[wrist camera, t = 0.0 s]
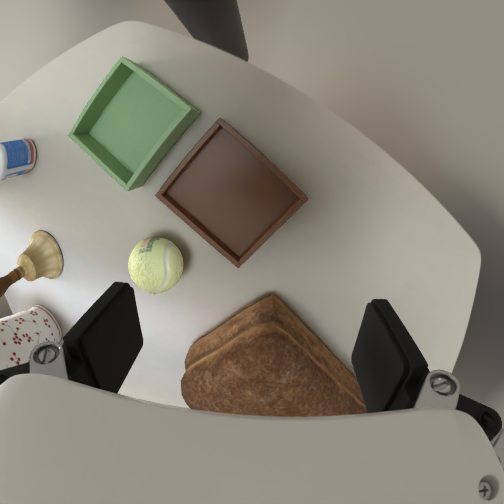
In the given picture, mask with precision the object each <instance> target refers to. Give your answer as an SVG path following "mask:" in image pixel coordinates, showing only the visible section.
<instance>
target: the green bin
mask: <svg viewBox="0 0 504 504" xmlns="http://www.w3.org/2000/svg"><path fill="white" fill-rule="evenodd" d="M199 114H200V112H199V111H198V110H197V109H195V108H194V107H193V106H192V105H190V104H189V103H188V102H187V101H185V100H184V99H183V98H182V97H180V96H179V95H178V94H177V93H175V92H174V91H173V90H171V89H170V88H169V87H167V86H166V85H165V84H164V83H162V82H161V81H160V80H158V79H157V78H156V77H154V76H153V75H152V74H150V73H149V72H147V71H146V70H145V69H143V68H142V67H141V66H139V65H138V64H136V63H134V62H133V61H131V60H129V59H127V58H125V57H123V56H122V57H121V58H120V59H119V61H118V62H117V63H116V64H115V66H114V67H113V68H112V69H111V71H110V72H109V73H108V75H107V76H106V77H105V79H104V80H103V81H102V83H101V84H100V86H99V87H98V88H97V90H96V91H95V93H94V94H93V96H92V97H91V99H90V100H89V102H88V103H87V105H86V106H85V108H84V110H83V111H82V113H81V114H80V116H79V118H78V119H77V121H76V123H75V124H74V126H73V128H72V129H71V132H70V133H69V135H68V136H69V137H70V138H71V139H72V140H73V141H74V142H75V143H76V144H77V145H79V146H80V147H81V148H82V149H83V150H84V151H85V152H86V153H87V154H88V155H89V156H90V157H91V158H92V159H93V160H94V161H95V162H96V163H97V164H98V165H99V166H100V167H101V168H103V169H104V170H105V171H106V172H107V173H108V174H109V175H110V176H111V177H112V178H113V179H114V180H115V181H116V182H118V183H119V184H120V185H121V186H122V187H123V188H124V189H125V190H126V191H130V190H133V189H135V188H138V187H141V186H142V185H143V184H144V183H145V181H146V180H147V178H148V177H149V176H150V174H151V173H152V172H153V170H154V169H155V168H156V166H157V165H158V164H159V163H160V161H161V160H162V159H163V157H164V156H165V155H166V154H167V152H168V151H169V150H170V149H171V147H172V146H173V145H174V144H175V142H176V141H177V140H178V139H179V137H180V136H181V135H182V134H183V133H184V132H185V130H186V129H187V128H188V127H189V126H190V125H191V123H192V122H193V121H194V120H195V119H196V118H197V117H198V115H199Z"/></svg>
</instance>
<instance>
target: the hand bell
mask: <svg viewBox="0 0 504 504" xmlns="http://www.w3.org/2000/svg"><path fill="white" fill-rule="evenodd" d="M17 264H18V267H17V268H16V269H14V270H13V271H12V272H10V273H9V274H8V275H6V276H4V277H1V278H0V297H1V296H2V295H3V294H4V293H5V292H6V290H7V289H8V287H9V286H10V285H12V284H13V283H15V282H16V281H18V280H20V279H21V278H24V279H26V280H27V281H34V280H36V279H37V278H40V277H46V278H49V279H54V278H57V277H58V276H59V275H60V274H61V272H62V269H63V258H62V254H61V251H60V248H59V246H58V244H57V243H56V241H55V240H54V238H53V237H52V236H51V235H49V234H48V233H47V232H44V231H37V232H35V233H34V234H33V235H32V236H31V238H30V241H29V246H28V248H27V249H26V250H25V251H24V252H23V253H22V254H21V255H20V256H19V257H18V261H17Z"/></svg>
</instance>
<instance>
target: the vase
mask: <svg viewBox="0 0 504 504" xmlns="http://www.w3.org/2000/svg"><path fill="white" fill-rule="evenodd" d="M61 336H62V333H61V328H60V326H59V324H58V322H57V320H56V319H55V318H54V316H53V315H52V314H51V313H50V312H49V311H48V310H47V309H46V308H44V307H42V306H40V305H34V306H33V307H32V308H31V309H28V310H25V311H22V312H19V313H16V314H13V315H10V316H7V317H4V318H1V319H0V370H2V369H6V368H9V367H13V366H16V365H20V364H23V363H27V362H29V357H30V353H31V351H32V350H33V349H34V348H35V347H36V346H37V345H39V344H40V343H43V342H48V341H53V342H57V343H58V342H59V341H60V340H61Z"/></svg>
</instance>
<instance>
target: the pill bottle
mask: <svg viewBox="0 0 504 504" xmlns="http://www.w3.org/2000/svg"><path fill="white" fill-rule="evenodd" d="M35 160H36V149H35V146H34V144H33V142H32V141H31V140H29V139H23V140H16V141H9V142H3V143H0V181H1V180H4V179H7V178H11V177H14V176H18V175H21V174H25V173H27V172H29V171H30V170H31V169H32V168H33V166H34V164H35Z"/></svg>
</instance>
